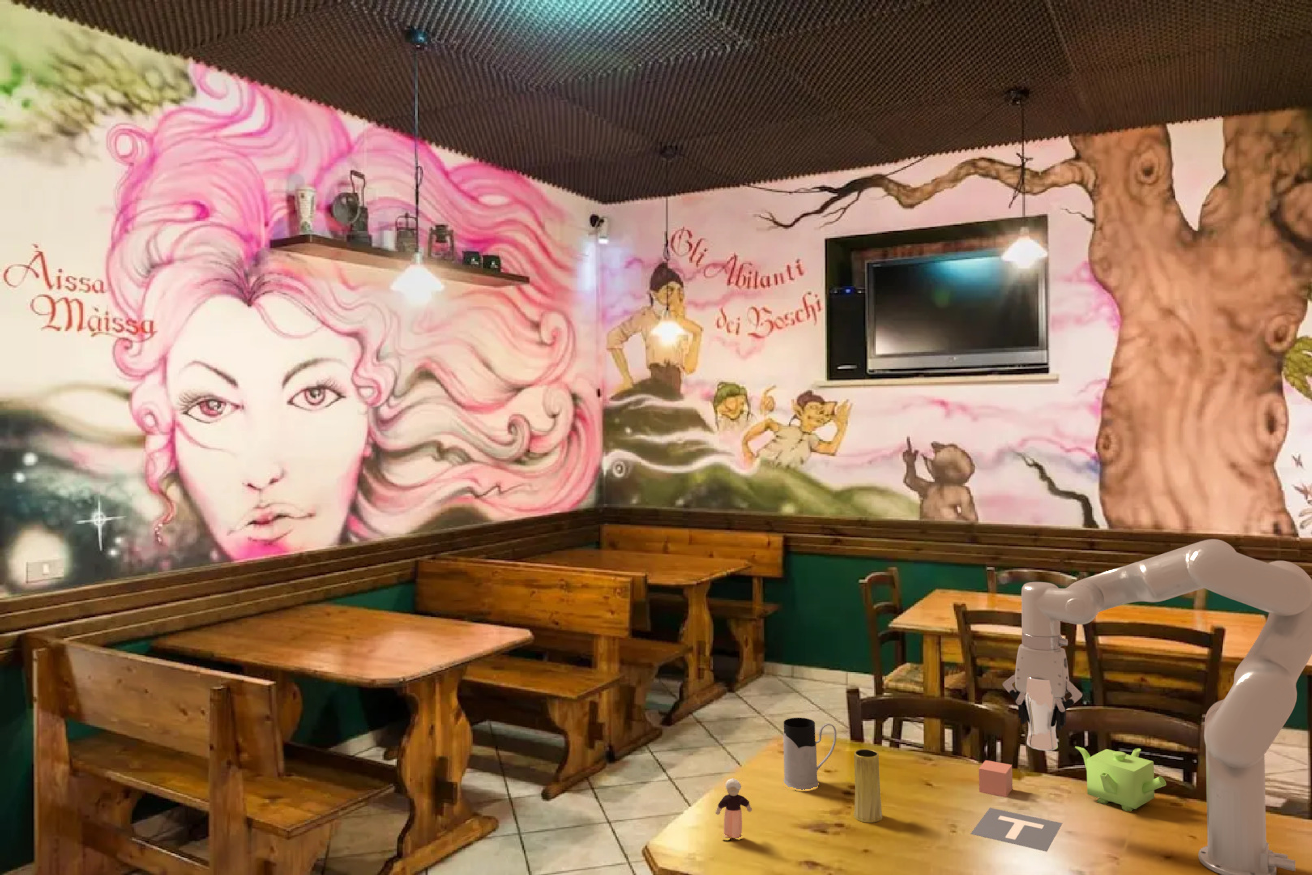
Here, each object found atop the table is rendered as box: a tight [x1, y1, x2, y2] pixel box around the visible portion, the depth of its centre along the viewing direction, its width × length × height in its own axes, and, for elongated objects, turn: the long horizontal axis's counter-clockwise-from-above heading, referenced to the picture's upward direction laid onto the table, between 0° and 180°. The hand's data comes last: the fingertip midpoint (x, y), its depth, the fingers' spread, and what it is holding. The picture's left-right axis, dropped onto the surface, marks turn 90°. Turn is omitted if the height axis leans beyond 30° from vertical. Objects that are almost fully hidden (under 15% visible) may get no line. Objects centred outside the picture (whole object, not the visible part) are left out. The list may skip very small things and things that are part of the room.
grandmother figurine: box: [714, 777, 753, 839], centre depth 192 cm, size 8×4×13 cm, turn 105°
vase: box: [853, 748, 883, 824], centre depth 200 cm, size 6×6×14 cm
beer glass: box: [1024, 677, 1059, 752], centre depth 192 cm, size 7×7×15 cm
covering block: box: [978, 759, 1014, 798], centre depth 212 cm, size 6×6×6 cm
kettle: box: [1074, 746, 1167, 812], centre depth 204 cm, size 15×14×11 cm
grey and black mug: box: [782, 717, 837, 790], centre depth 220 cm, size 9×14×15 cm, turn 107°
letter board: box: [970, 807, 1063, 852], centre depth 192 cm, size 15×15×1 cm
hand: (1041, 724), depth 192 cm, fingers closed on beer glass, 6 cm apart
